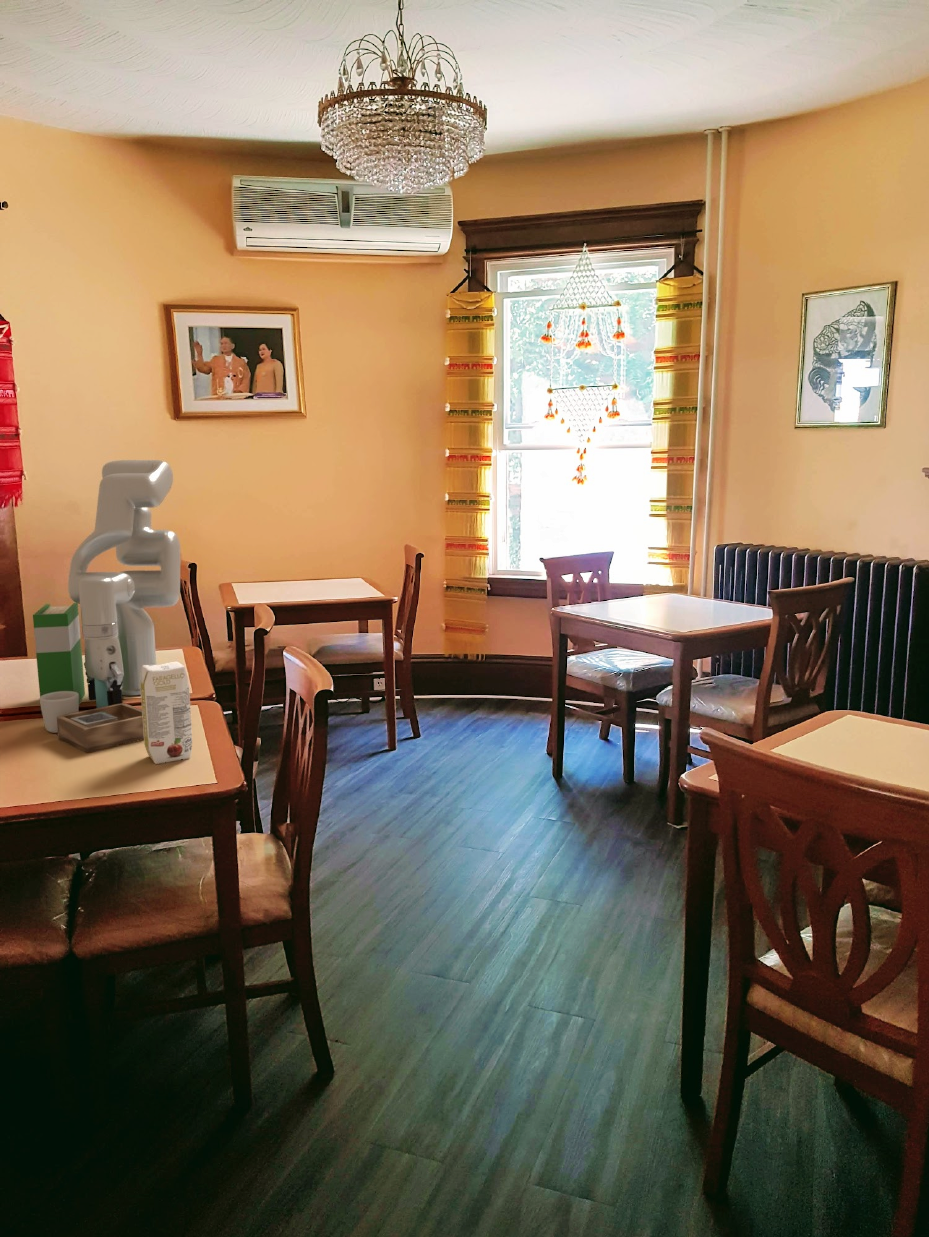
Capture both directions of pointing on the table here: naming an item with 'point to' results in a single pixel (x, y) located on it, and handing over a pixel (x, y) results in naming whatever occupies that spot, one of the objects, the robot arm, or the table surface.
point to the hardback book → (59, 650)
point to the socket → (95, 719)
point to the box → (102, 728)
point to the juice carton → (166, 712)
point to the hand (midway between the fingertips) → (105, 703)
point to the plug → (101, 693)
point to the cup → (58, 707)
